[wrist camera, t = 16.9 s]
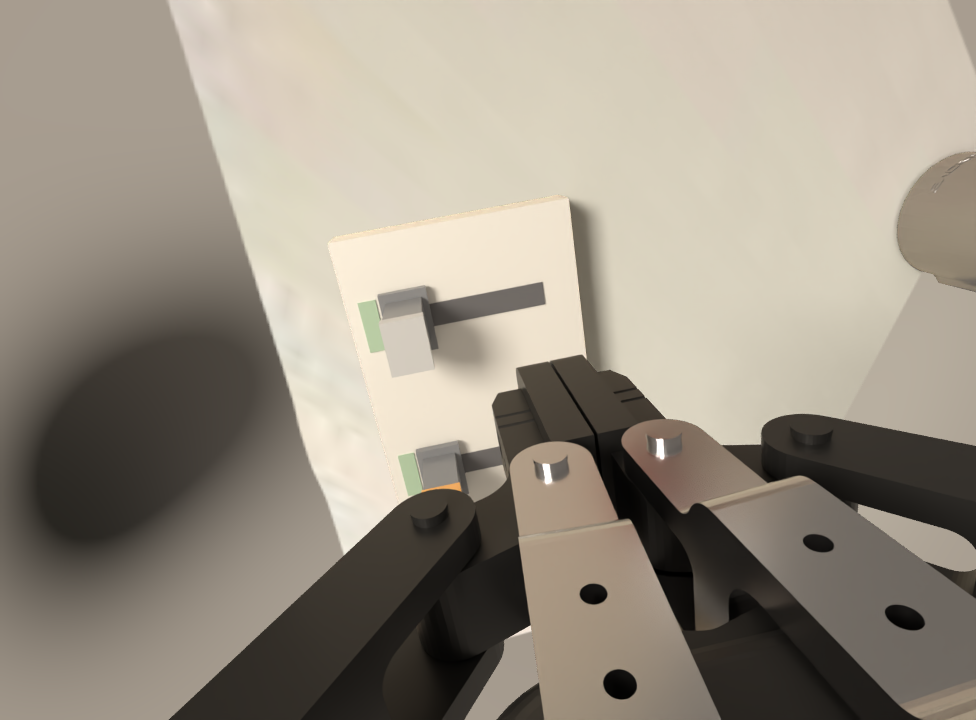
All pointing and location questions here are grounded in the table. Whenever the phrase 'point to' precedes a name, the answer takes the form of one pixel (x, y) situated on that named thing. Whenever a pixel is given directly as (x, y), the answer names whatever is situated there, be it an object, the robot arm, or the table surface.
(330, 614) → the robot arm
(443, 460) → the orange and grey block
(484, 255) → the switch box
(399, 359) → the on lever
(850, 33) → the table surface
